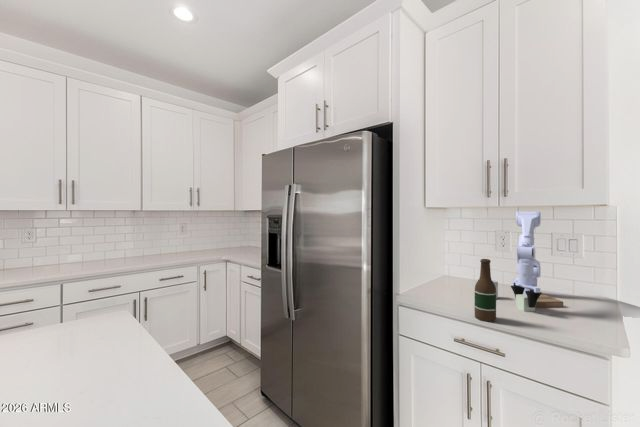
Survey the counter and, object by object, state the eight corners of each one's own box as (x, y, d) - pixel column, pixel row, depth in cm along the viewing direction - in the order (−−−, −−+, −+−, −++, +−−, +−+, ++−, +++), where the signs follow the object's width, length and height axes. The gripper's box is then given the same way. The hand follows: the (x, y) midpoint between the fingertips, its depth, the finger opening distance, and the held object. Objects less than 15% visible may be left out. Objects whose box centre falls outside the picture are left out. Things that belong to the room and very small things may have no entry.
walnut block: (518, 300, 146) (518, 294, 146) (542, 300, 147) (542, 294, 146) (537, 308, 134) (537, 302, 134) (563, 308, 135) (563, 301, 134)
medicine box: (493, 296, 151) (493, 279, 151) (498, 299, 147) (498, 281, 147) (477, 296, 152) (477, 279, 152) (481, 298, 148) (481, 281, 148)
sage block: (515, 307, 134) (515, 294, 134) (526, 307, 134) (526, 294, 134) (523, 311, 129) (523, 297, 129) (535, 311, 129) (535, 297, 129)
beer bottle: (488, 323, 116) (488, 261, 115) (470, 317, 123) (470, 258, 122) (500, 320, 119) (500, 259, 119) (482, 314, 126) (482, 257, 126)
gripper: (505, 270, 139) (505, 299, 139) (528, 277, 124) (528, 310, 124) (520, 270, 139) (520, 299, 139) (545, 277, 124) (545, 310, 125)
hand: (525, 304), depth 132 cm, fingers open, 7 cm apart
